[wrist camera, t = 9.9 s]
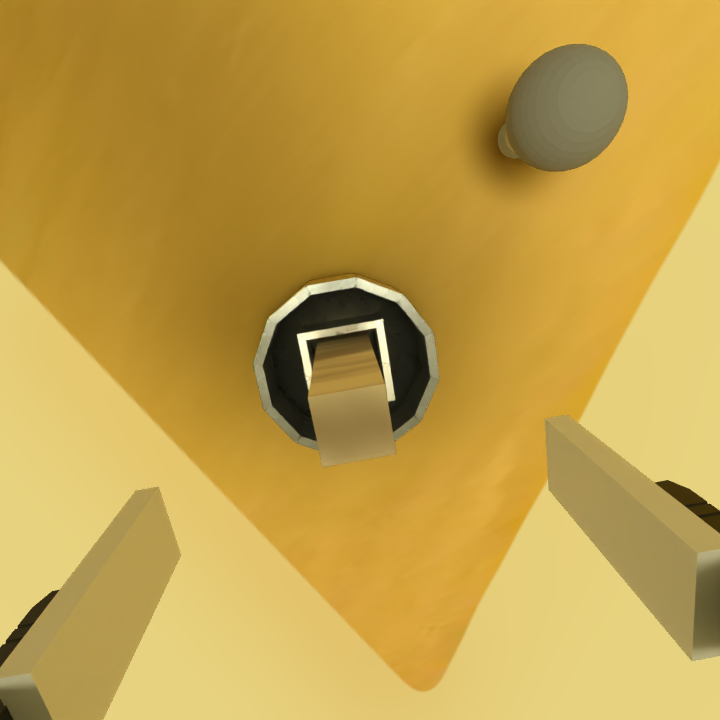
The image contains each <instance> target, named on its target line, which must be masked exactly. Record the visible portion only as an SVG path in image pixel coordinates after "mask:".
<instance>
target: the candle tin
mask: <svg viewBox="0 0 720 720" xmlns="http://www.w3.org/2000/svg"><path fill="white" fill-rule="evenodd" d="M363 330H366V331H367V334H368V337H369V340H370V342H371V345H372V348H373V351H374V354H375V357H376V359H377V362H378V365H379V368H380V371H381V374H382V377H383V379H384V382H385V387H386V393H387V399H388V405H389V412H390V418H391V424H392V430H393V436H394V442H395V441H396V440H397V439H399V438H400V437H401V436H403V435H404V434H405V433H406V432H408V431H409V430H410V429H412V428H413V427H414V426H416V425H417V424H418V423H419V422H421V421H420V420H422V418H423V416H424V414H425V411H426V409H427V407H428V405H429V402H430V400H431V398H432V395H433V393H434V391H435V388H436V386H437V384H438V381H439V379H438V378H439V370H438V363H437V355H436V347H435V339H434V333H433V331H432V330H431V329H430V327H429V326H428V325H427V324H426V322H425V321H424V320H423V319H422V317H421V316H420V315H419V314H418V312H417V311H416V310H415V309H414V307H413V306H412V305H411V303H410V302H409V301H408V300H407V298H406V297H405V296H404V295H403V294H402V293H400V292H399V291H398V290H397V289H395V288H393V287H390V286H387V285H385V284H382V283H379V282H377V281H375V280H372V279H369V278H366V277H363V276H361V275H358V274H353V273H351V274H345V275H338V276H330V277H326V278H322V279H316V280H310V282H307V283H306V284H305V285H304V286H303V287H302V288H300V289H299V290H298V291H297V292H296V293H294V294H293V295H292V296H291V297H290V298H289V299H287V300H286V301H285V302H284V303H283V304H282V305H280V306H279V307H278V308H277V309H276V310H275V311H274V312H273V313H272V315H271V316H270V317H269V318H268V320H267V323H266V326H265V329H264V332H263V335H262V338H261V341H260V344H259V347H258V350H257V353H256V356H255V360H254V363H253V364H254V365H253V367H254V371H255V375H256V379H257V384H258V388H259V392H260V396H261V400H262V405H263V409H265V410H264V411H265V412H266V413H267V414H268V415H269V416H270V417H271V418H272V419H273V420H274V421H275V422H276V423H277V424H278V425H279V426H280V427H281V428H282V429H283V430H284V431H285V433H286V434H287V435H288V436H289V437H290V438H291V439H292V440H293V441H294V442H296V441H297V444H300V445H303V446H306V447H309V448H313V449H316V450H319V449H318V444H317V439H316V434H315V430H314V425H313V420H312V415H311V411H310V406H309V401H308V393H309V387H310V381H311V376H312V370H313V364H314V358H315V353H316V347H317V341H318V338H323V337H329V336H335V335H340V334H346V333H352V332H357V331H363Z"/></svg>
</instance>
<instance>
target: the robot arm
mask: <svg viewBox="0 0 720 720" xmlns="http://www.w3.org/2000/svg"><path fill="white" fill-rule="evenodd" d="M545 430H546V448H547V466H548V484H549V490H550V492H551V493H552V494H553V495H554V496H555V498H556V499H557V500H558V501H559V502H560V504H561V505H562V506H563V507H564V509H566V511H567V512H568V513H569V514H570V516H571V517H572V518H573V519H574V520H575V522H576V523H577V524H578V525H579V526H580V528H581V529H582V530H583V531H584V532H585V534H586V535H587V536H588V537H589V538H590V540H591V541H592V542H593V543H594V544H595V546H596V547H597V548H598V549H599V550H600V552H601V553H602V554H603V555H604V556H605V558H606V559H607V560H608V561H609V562H610V564H611V565H612V566H613V567H614V568H615V570H616V571H617V572H618V573H619V574H620V576H621V577H622V578H623V579H624V580H625V582H626V583H627V584H628V585H629V586H630V587H631V589H632V590H633V591H634V592H635V594H637V596H638V597H639V598H640V600H641V601H642V602H643V603H644V604H645V606H646V607H647V608H648V609H649V610H650V612H651V613H652V614H653V615H654V616H655V618H656V619H657V620H658V621H659V622H660V624H661V625H662V626H663V627H664V628H665V630H666V631H667V632H668V633H669V634H670V635H671V637H672V638H673V639H674V640H675V641H676V643H677V644H678V645H679V646H680V647H681V649H682V650H683V651H684V652H685V653H686V655H687V656H688V657H689V658H690V659H691V660H692V661H695V660H701V659H706V658H711V657H717V656H720V511H719V510H718V509H717V508H715V507H714V506H712V505H711V504H707V501H705V500H704V499H703V498H701V497H700V496H698V495H697V494H696V493H694V492H693V491H691V490H690V489H688V488H686V487H683V486H680V485H678V484H676V483H674V482H671V481H669V480H666V481H661V482H655V483H654V482H653V481H652V480H650V479H649V478H648V477H647V476H645V475H644V474H643V473H641V472H640V471H639V470H638V469H636V468H635V467H634V466H632V465H631V464H630V463H629V462H627V461H626V460H625V459H623V458H622V457H621V456H620V455H618V454H617V453H616V452H615V451H613V450H612V449H611V448H609V447H608V446H607V445H606V444H604V443H603V442H601V441H600V440H599V439H598V438H597V437H595V436H594V435H593V434H592V433H590V432H589V431H588V430H586V429H585V428H584V427H583V426H581V425H580V424H579V423H577V422H576V421H575V420H574V419H572V418H571V417H570V416H568V415H562V416H556V417H551V418H545ZM180 556H181V554H180V550H179V547H178V545H177V541H176V539H175V535H174V532H173V529H172V526H171V523H170V520H169V517H168V514H167V511H166V508H165V505H164V502H163V499H162V496H161V493H160V490H159V487H154V488H149V489H143V490H138V491H135V492H134V494H133V495H132V496H131V498H130V499H129V500H128V502H127V503H126V504H125V505H124V507H123V508H122V510H121V511H120V512H119V513H118V515H117V516H116V517H115V519H114V520H113V521H112V522H111V524H110V525H109V527H108V528H107V529H106V530H105V532H104V533H103V534H102V536H101V537H100V538H99V539H98V541H97V542H96V543H95V545H94V546H93V547H92V549H91V550H90V551H89V553H88V554H87V555H86V556H85V558H84V559H83V560H82V562H81V563H80V564H79V565H78V567H77V568H76V569H75V571H74V572H73V573H72V575H71V576H70V577H69V578H68V580H67V581H66V583H65V584H64V585H63V586H62V588H61V589H60V590H57V591H52V592H51V593H49V594H48V595H47V596H46V597H45V598H43V599H42V600H41V601H40V602H39V603H37V604H36V605H35V606H34V607H33V608H32V609H31V610H30V611H29V612H28V614H27V615H26V616H25V618H24V619H23V620H22V621H21V622H20V624H19V625H18V629H15V630H14V631H13V632H12V634H11V635H10V636H9V638H8V639H7V640H6V644H4V645H2V646H1V647H0V720H103V719H104V717H105V715H106V712H107V710H108V708H109V706H110V704H111V702H112V700H113V698H114V695H115V694H116V691H117V689H118V687H119V685H120V683H121V681H122V679H123V677H124V674H125V672H126V670H127V668H128V666H129V664H130V662H131V660H132V658H133V656H134V653H135V651H136V649H137V647H138V645H139V643H140V641H141V639H142V637H143V634H144V632H145V630H146V628H147V626H148V624H149V622H150V620H151V618H152V615H153V613H154V611H155V609H156V607H157V605H158V603H159V601H160V598H161V596H162V594H163V592H164V590H165V588H166V586H167V584H168V582H169V579H170V577H171V575H172V573H173V571H174V569H175V566H176V565H177V563H178V560H179V558H180Z"/></svg>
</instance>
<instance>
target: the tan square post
mask: <svg viewBox="0 0 720 720" xmlns="http://www.w3.org/2000/svg"><path fill="white" fill-rule="evenodd" d="M308 401H309V406H310V411H311V415H312V420H313V425H314V430H315V434H316V439H317V444H318V449H319V454H320V458H321V463H322V467H327V466H333V465H338V464H344V463H349V462H355V461H361V460H366V459H372V458H378V457H383V456H389V455H394V454H396V449H395V443H394V436H393V430H392V424H391V418H390V412H389V405H388V399H387V393H386V387H385V382H384V379H383V377H382V374H381V371H380V368H379V365H378V362H377V359H376V357H375V354H374V351H373V348H372V345H371V342H370V340H369V337H368V334H367V331H366V330H363V331H357V332H352V333H346V334H340V335H335V336H329V337H323V338H318V341H317V347H316V353H315V358H314V364H313V370H312V376H311V381H310V387H309V393H308Z"/></svg>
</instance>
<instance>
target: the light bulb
mask: <svg viewBox="0 0 720 720" xmlns="http://www.w3.org/2000/svg"><path fill="white" fill-rule="evenodd" d="M627 101H628V90H627V83H626V79H625V76H624V73H623V71H622V69H621V67H620V66H619V64H618V63H617V62H616V60H615V59H614V58H613V57H612V56H611V55H609V54H608V53H607V52H605V51H603V50H601V49H599V48H597V47H595V46H590V45H586V44H570V45H565V46H561V47H558V48H555V49H553V50H551V51H549V52H546V53H545V54H543V55H542V56H541V57H539V58H538V59H536V60H535V61H534V62H533V63H532V64H531V65H530V66H529V67H528V68H527V69H526V70H525V71H524V72H523V74H522V75H521V77H520V78H519V80H518V81H517V83H516V84H515V86H514V88H513V91H512V93H511V96H510V98H509V101H508V105H507V110H506V120H505V123H504V125H503V126H502V127H501V129H500V131H499V134H498V146H499V149H500V151H501V152H502V153H503V154H504V155H505V156H506V157H509V158H512V159H517V158H520V159H521V160H523V161H524V162H525V163H527V164H528V165H530V166H533V167H535V168H537V169H540V170H545V171H566V170H571V169H574V168H578V167H580V166H582V165H584V164H587V163H588V162H590V161H591V160H593V159H594V158H596V157H597V156H598V155H599V154H601V152H602V151H603V150H604V149H605V148H606V147H607V146H608V145H609V144H610V143H611V141H612V140H613V139H614V137H615V136H616V134H617V133H618V131H619V128H620V126H621V124H622V122H623V120H624V116H625V113H626V109H627Z"/></svg>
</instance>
